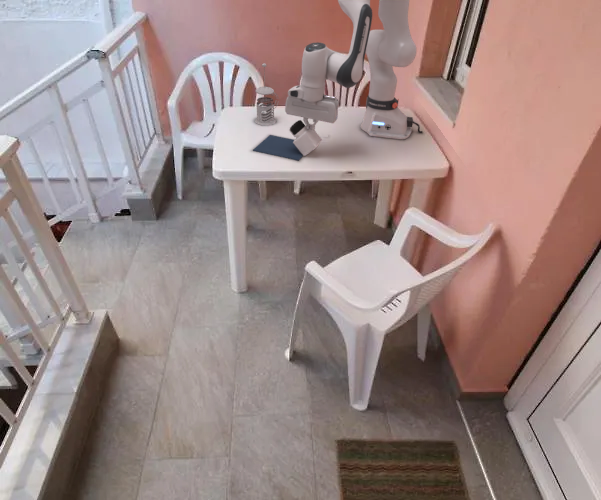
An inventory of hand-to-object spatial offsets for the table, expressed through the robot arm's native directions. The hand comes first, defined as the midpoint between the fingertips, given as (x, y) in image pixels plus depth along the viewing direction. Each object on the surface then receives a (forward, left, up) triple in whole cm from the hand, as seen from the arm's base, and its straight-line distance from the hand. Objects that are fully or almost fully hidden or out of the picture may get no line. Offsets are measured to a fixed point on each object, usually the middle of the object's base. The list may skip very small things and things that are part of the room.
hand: (310, 129), depth 159 cm
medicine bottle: (-2, 0, -8) cm, 8 cm away
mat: (+11, -1, -10) cm, 15 cm away
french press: (+30, -23, -10) cm, 39 cm away
